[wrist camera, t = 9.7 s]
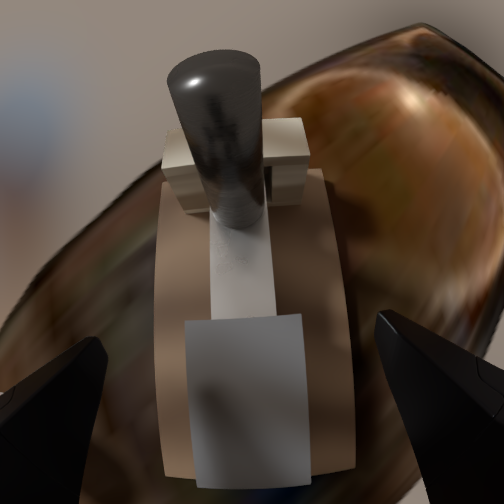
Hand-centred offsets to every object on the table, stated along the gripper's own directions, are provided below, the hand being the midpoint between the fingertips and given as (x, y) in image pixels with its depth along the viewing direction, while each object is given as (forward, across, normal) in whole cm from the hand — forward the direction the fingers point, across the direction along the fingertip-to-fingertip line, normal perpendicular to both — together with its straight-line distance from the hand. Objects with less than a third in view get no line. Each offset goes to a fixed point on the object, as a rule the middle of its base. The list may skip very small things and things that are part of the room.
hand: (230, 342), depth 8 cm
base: (+8, 0, +6) cm, 10 cm away
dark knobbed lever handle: (+8, 0, +2) cm, 8 cm away
